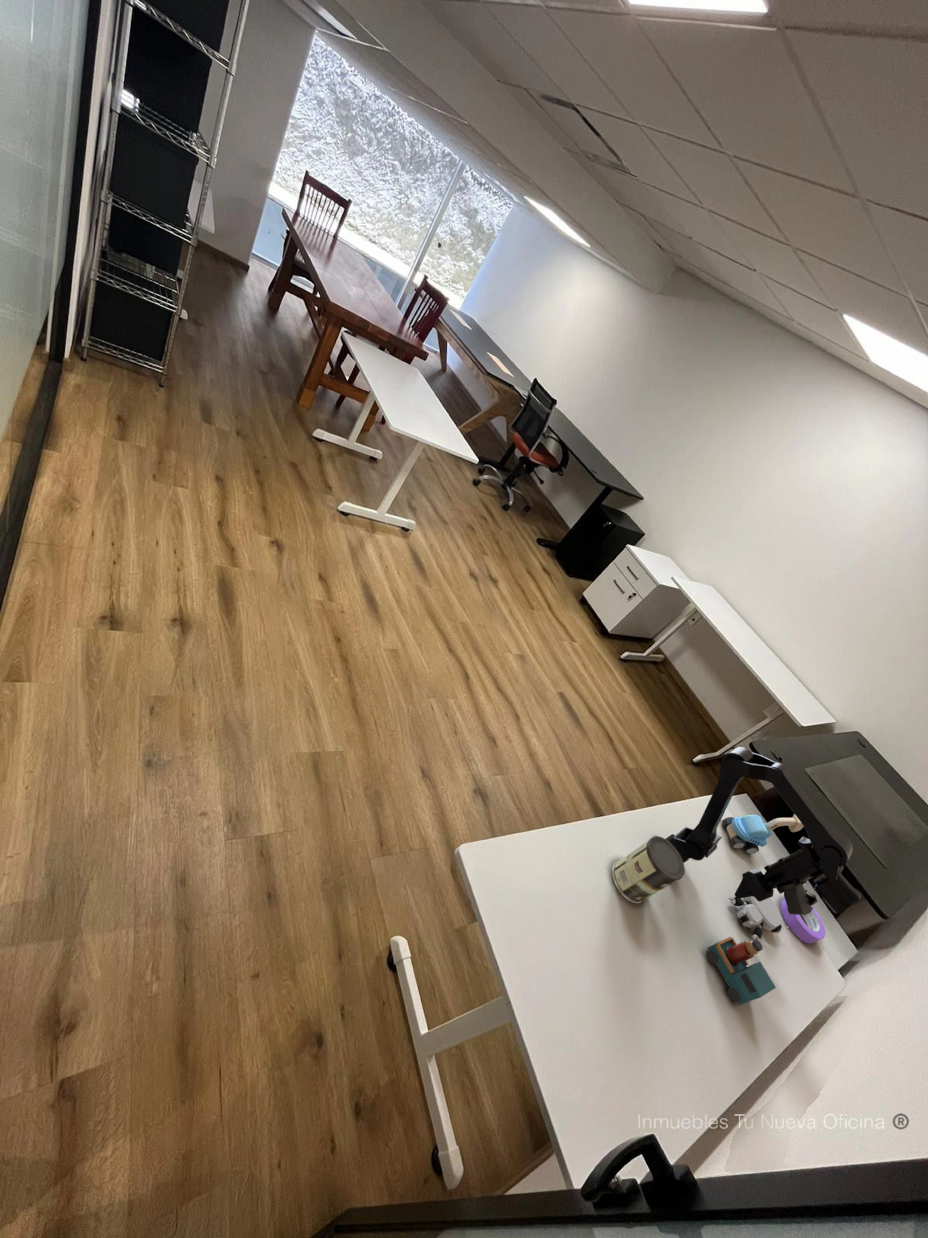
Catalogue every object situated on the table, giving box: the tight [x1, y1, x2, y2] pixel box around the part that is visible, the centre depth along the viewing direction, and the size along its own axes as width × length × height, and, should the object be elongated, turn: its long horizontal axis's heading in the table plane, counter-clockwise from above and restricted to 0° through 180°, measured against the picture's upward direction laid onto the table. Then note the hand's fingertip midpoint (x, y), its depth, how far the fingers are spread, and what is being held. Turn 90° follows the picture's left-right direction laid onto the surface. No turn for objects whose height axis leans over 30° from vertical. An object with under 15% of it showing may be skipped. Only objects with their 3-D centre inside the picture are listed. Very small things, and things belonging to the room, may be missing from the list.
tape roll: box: [780, 898, 826, 944], centre depth 153 cm, size 12×12×4 cm
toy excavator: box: [721, 813, 804, 855], centre depth 163 cm, size 9×17×17 cm, turn 89°
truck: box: [705, 936, 777, 1006], centre depth 126 cm, size 12×7×8 cm, turn 24°
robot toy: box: [728, 896, 789, 942], centre depth 145 cm, size 12×4×15 cm
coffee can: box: [611, 835, 686, 904], centre depth 129 cm, size 10×10×14 cm
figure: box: [725, 939, 764, 966], centre depth 125 cm, size 4×4×8 cm
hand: (745, 893), depth 132 cm, fingers open, 9 cm apart
